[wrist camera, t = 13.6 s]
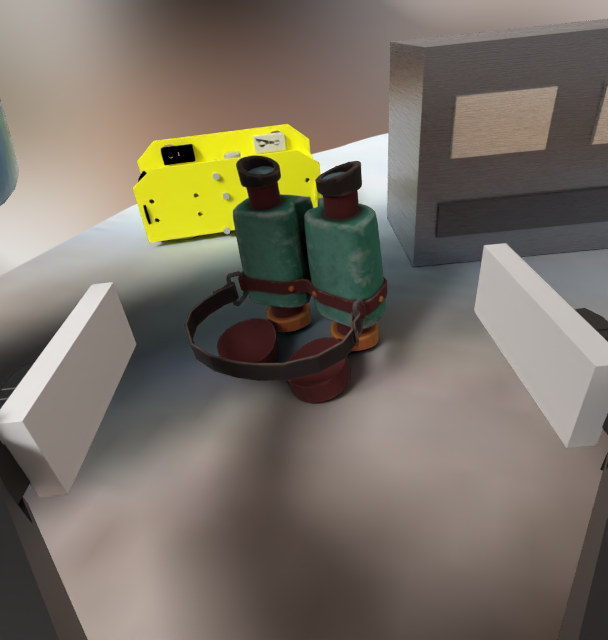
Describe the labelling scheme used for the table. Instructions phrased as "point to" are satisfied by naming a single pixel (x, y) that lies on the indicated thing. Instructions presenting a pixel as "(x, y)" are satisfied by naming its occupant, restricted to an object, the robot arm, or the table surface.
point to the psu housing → (499, 142)
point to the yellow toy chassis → (215, 178)
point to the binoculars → (300, 280)
